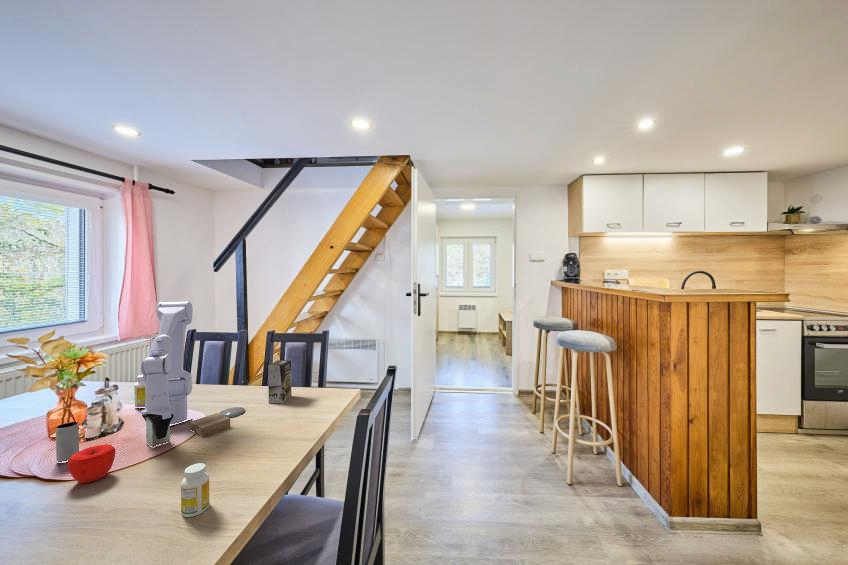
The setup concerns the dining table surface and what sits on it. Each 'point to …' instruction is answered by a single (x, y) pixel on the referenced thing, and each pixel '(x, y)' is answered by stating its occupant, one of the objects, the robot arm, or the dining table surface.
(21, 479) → the dining table surface
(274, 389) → the coffee box
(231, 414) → the slate coaster
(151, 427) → the tea tin
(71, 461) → the apple
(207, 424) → the tan flat square block
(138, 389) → the supplement bottle
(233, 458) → the dining table surface
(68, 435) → the grey tin can
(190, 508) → the supplement bottle
